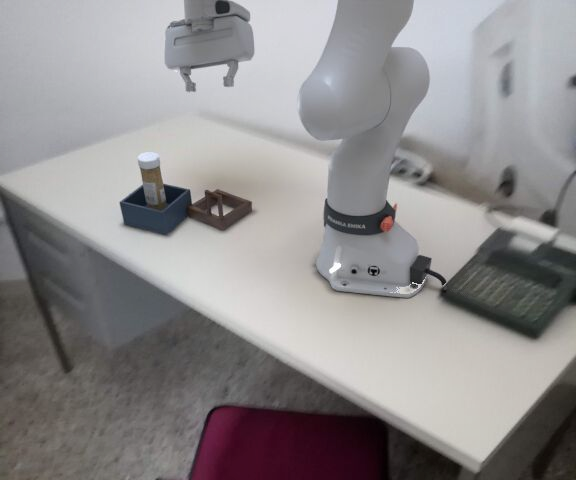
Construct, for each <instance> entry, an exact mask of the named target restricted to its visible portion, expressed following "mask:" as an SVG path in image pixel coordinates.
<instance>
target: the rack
mask: <svg viewBox="0 0 576 480" xmlns="http://www.w3.org/2000/svg"><path fill="white" fill-rule="evenodd" d="M216 204H217V212H218V213H217V214H218V215H217V214H215V213H213V211H212V207H213V206H215V205H216ZM223 205H226V206H228V207H230V208H232V210H230V211H229V212H227V213H225V214H224V208H223V207H224V206H223ZM187 210H188V217H187V218H190V219H193V220H195V221H197V222H200V223H202V224H205V225H207V226H209V227H213V228H215V229H218V230H220V231H225V230H227V229H228V228H230V227H231V226H233V225H234V224H236V223H237V222H239V221H240V220H242V219H244V218H245V217H246V216H248V215H249V214H251V213H252V212H253V202H252V201H251V200H249V199H248V200H247V199H245V198H243V197H240V196H237V195H235V194H232V193H230V192H227V191H224V190H222V189H218V188H217V189H215V190H213V191H211V190H209V189H205V190H204V196H203V197H201V198H199V199H198V200H196V201H195V202H192V204H191V205H190V206H188V207H187Z"/></svg>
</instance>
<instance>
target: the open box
mask: <svg viewBox="0 0 576 480" xmlns="http://www.w3.org/2000/svg"><path fill="white" fill-rule="evenodd" d="M163 186H164V191H165V197H166V204H167V207H166V208H165V209H164V210H163V211H160V210H156V209H152V208H148V206H147V202H146V198H145V193H144V188H143V184H141V185H140V186H138V187H137V188H136V189H134V190H133V191H132V192H130V193H129V194H128V195H126V196H125V197H124V198H122V200H120V201H119V202H118V203H119V207H120V211H121V215H122V220H123V224H124V226H128V227H131V228H132V227H133V228H136V229H140V230H143V231H147V232H152V233H156V234H159V235H164V236H168V235H169V234H170V233H171V232H173V230H175V229H176V228H177V227H178V226H180V224H182V222H184V221H185V219H187V218H189V217H188V210H187V207H188V206H190V205H191V204H193V201H192V194H191V193H192V192H191V189H189V188H185V187H180V186H176V185H171V184H167V183H163Z"/></svg>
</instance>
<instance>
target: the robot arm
mask: <svg viewBox="0 0 576 480" xmlns="http://www.w3.org/2000/svg"><path fill="white" fill-rule="evenodd" d="M414 3H415V0H337V5H336V10H335V14H334V20H333V22H332V26H331V29H330V32H329V35H328V38H327V41H326V43H325V46H324V47H323V50H322V52H321V55H320V57H319V59H318V61H317V63H316V65H315V67H314V68H313V69H312V71H311V72H310V74H309V75H308V76H307V78H306V79H305V80H304V81H303V82H302V83H301V85H300V88H299V90H298V94H297V103H296V104H297V113H298V116H299V120H300V122H301V125H302V127H303V128H304V129H305V131H306V132H307V133H308V134H309V135H310V136H311V137H312V138H313V139H315V140H317V141H320V142H327V141H338V140H340V142H339V144H338V145H337V146H336V148H335V149H334V150H333V152H332V154H331V155H330V158H329V161H328V169H327V170H328V171H327V191H326V192H327V193H326V198H325V199H324V204H323V213H322V214H323V215H322V216H323V217H322V219H323V227H324V230H323V237H322V242H321V247H320V250H319V254H318V256H317V259H316V262H315V267H316V269H317V271H318V272H319V275H321V276H322V277H323V278H325V279H326V280H327V281H328V282H329V285H330V286H331V288H332V289H333V290H334V291H337V292H344V293H354V294H363V295H375V296H383V297H385V296H386V297H393V298H404V299H410V298H411V297H413V296H415V295H417V294H418V293H420V291H421V290H422V289H423V287H424V286H425V284H426V282H427V279H428V275H429V276H431V277H434V278H436V279H438V280H439V282H440V283H441V286H442V285H444V284H445V283H446V282H447V279H446V278H445V277H444V276H443V275H442V274H440V273H438V272H437V271H434V270H432V269H431V265H432V257H429V256H425V255H421V254H420V251H419V244H418V241H417V239H416V238H415V236H414V235H412V234H411V233H410V232H409V231H407V230H406V229H405V228H404V227H403V226H402V225H400V223H398V222H397V221H396V214H397V213H396V212H397V208H398V203H397V202H395V204H394V206H392V204H390V203H389V201H388V200H387V198H388V190H389V184H390V176H391V171H392V166H393V162H394V159H395V155H396V151H397V149H398V147H399V144H400V142H401V140H402V138H403V134H404V132H405V130H406V128H407V126H408V123H409V121H410V120H411V118H412V116H413V114H414V113H415V111H416V109H417V108H418V107H419V106H420V104H421V103H422V102H423V101H424V100H425V98H426V96H427V94H428V91H429V88H430V83H431V82H430V79H431V77H430V70H429V66H428V63H427V61H426V59H425V57H424V56H423V54H421V52H419V51H418V50H417V49H415V48H413V47H410V46H409V47H408V46H407V47H406V46H393V44H394V43H395V41H396V39H397V37H398V36H399V34H401V32H402V31H403V29H404V28H405V27H406V25H407V24H408V23H409V20H410V19H411V16H412V13H413V10H414ZM183 8H184V9H183V10H184V12H183V13H184V18H183V19H180V20H177V21H176V20H174V21H171V22H169V25H168V26H166V28H165V32H164V33H165V34H164V35H165V36H164V37H165V40H164V56H163V57H164V59H163V60H164V65H165V67H166V68H167V69H168V70H170V71H171V72H176V73H179V74H180V76H181V78H182V80H183V82H184V85H185V86H184V87H185V92H186V93H196V92H197V88H196V87H197V84H196V82H193V81H192V79H191V77H190V76H192V70H198V69H203V68H204V69H205V68H211V67H217V66H224V65H226V66H227V67H228V71H227V73H226V75H224V76H222V80H223V82H222V83H223V84H222V85H223V87H225V88H233V87H234V86H235V77H236V75H237V73H238V70H239V63H242V62H249V61H252V59H253V58H254V56H255V37H254V30H253V27H252V25H251V24H250V21H251V13H250V11H249V10H248V9H247V8H246V7H244V6H243V5H241V4H240V3H238V2H235V1H233V0H183ZM425 277H426V279H425ZM424 279H425V281H424V283H423V284H422V282H423V280H424ZM412 282H414V283H417V284H422V285H421V287H420V288H419V289H417V288H418V285H416V284H412ZM410 284H411V285H410ZM409 285H410V288H412V289H417V290H416V291H414V292H413V293H410V294H400V293H397V292H396V291H397V290H398V289H397V288H396V287H398V288H399V287H406V286H409ZM396 289H397V290H396ZM399 289H400V288H399ZM390 292H393V293H390ZM394 292H396V293H394ZM398 292H399V291H398Z"/></svg>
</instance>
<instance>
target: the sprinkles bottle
mask: <svg viewBox="0 0 576 480" xmlns="http://www.w3.org/2000/svg"><path fill="white" fill-rule="evenodd" d="M136 159H137V165H138V167H139V170H140V176H141V182H142V185H143V188H144V193H145V198H146V202H147V206H148V208H152V209H156V210H160V211H163V210H164V209H165V208H166V207H167V204H166V197H165V191H164V186H163V184H164V181H163V177H162V176H163V175H162V171H161V159H160V155H159V154H158V153H157V152H152V151H146V152H142V153H140V154H138V156H137V158H136Z"/></svg>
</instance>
